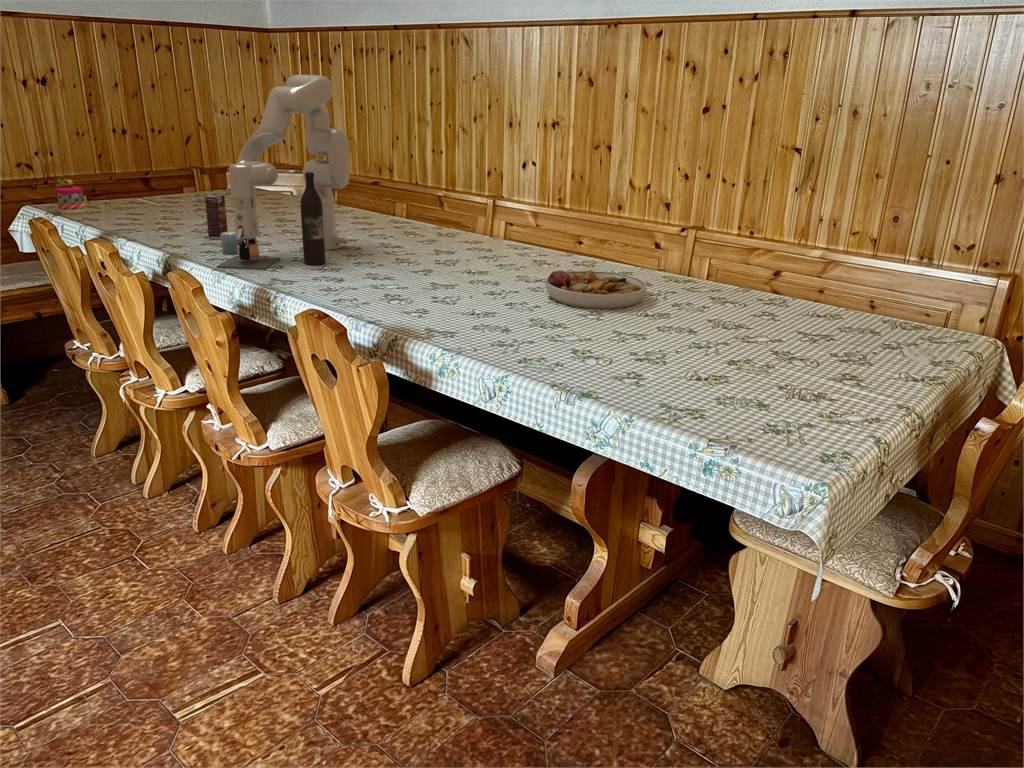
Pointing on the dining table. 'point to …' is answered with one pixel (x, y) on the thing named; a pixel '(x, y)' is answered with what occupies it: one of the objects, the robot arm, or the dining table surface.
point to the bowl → (595, 289)
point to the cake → (69, 198)
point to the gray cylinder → (229, 243)
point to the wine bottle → (312, 224)
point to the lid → (251, 250)
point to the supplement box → (216, 215)
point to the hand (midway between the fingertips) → (248, 256)
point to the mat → (249, 263)
